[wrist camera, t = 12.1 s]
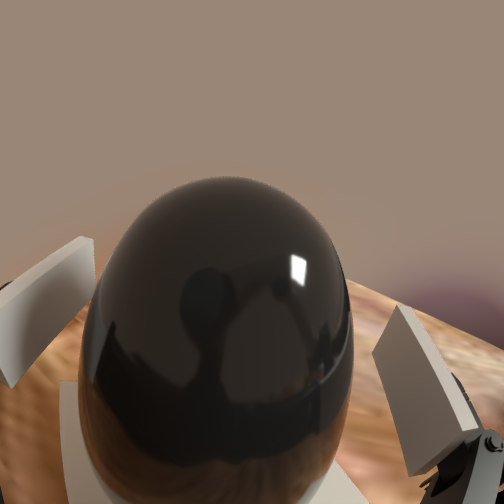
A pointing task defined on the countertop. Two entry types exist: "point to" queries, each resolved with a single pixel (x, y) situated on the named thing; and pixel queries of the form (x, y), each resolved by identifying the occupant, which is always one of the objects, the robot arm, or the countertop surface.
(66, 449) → the riser
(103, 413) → the dark brown rounded piece
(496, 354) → the countertop surface
